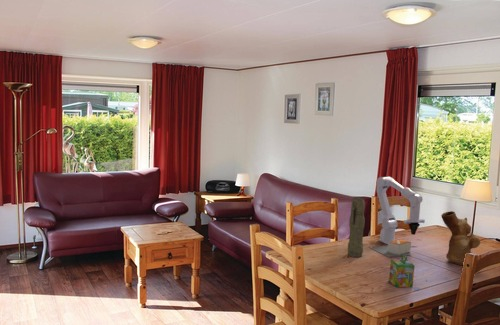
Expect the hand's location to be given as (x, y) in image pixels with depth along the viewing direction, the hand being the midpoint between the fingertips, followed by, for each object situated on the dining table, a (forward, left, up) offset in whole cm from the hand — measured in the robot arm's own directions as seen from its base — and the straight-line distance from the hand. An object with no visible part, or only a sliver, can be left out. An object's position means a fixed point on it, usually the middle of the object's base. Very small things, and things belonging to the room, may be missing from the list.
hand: (413, 234), depth 292 cm
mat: (0, -17, -10) cm, 20 cm away
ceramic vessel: (+28, +10, -10) cm, 31 cm away
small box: (+1, -6, -6) cm, 9 cm away
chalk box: (+49, -46, -10) cm, 68 cm away
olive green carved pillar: (+2, -43, -10) cm, 45 cm away
